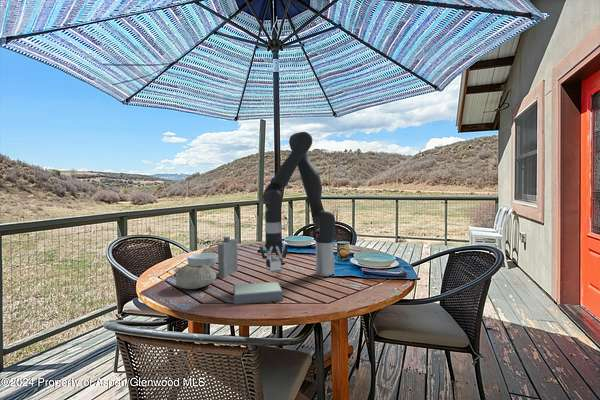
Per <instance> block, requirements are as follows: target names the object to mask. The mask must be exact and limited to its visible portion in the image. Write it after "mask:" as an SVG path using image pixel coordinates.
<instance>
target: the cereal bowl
mask: <svg viewBox="0 0 600 400" xmlns="http://www.w3.org/2000/svg"><path fill="white" fill-rule="evenodd" d="M217 262H218V253H215V252H199V253H194V254H189V255H188V256H187V263H188V266H190V265H195V266H196V265H205V266H208V267H211V268H212V267H213V266H215V265H216V264H217Z"/></svg>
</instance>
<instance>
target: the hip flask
mask: <svg viewBox="0 0 600 400" xmlns="http://www.w3.org/2000/svg"><path fill="white" fill-rule="evenodd" d="M222 239H223V241H221V242H220V243H219V242H218V243H217V254H218V260H217V262H218V264H217V266H218V267H217V268H218V279H225V278H227V277H228V276H229V275H232V274H233V273H237V272H238V269H239V268H238V239H236V238H232V239H231V237H230V236H223V237H222Z"/></svg>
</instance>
